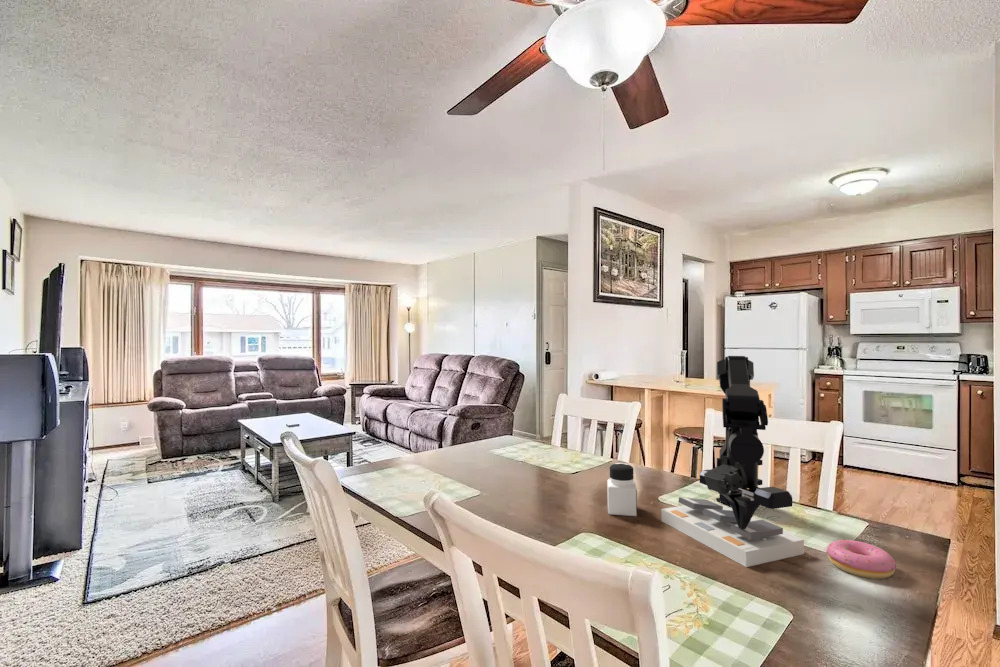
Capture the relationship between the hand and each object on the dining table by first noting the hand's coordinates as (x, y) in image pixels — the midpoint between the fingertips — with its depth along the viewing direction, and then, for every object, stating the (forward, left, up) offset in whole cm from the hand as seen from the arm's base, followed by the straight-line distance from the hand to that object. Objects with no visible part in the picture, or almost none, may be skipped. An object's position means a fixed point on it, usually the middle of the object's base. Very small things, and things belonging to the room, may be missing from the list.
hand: (742, 528), depth 98 cm
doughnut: (-17, +12, -6) cm, 22 cm away
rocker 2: (-4, 0, -1) cm, 4 cm away
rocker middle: (-4, -8, -1) cm, 9 cm away
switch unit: (-4, -8, -5) cm, 10 cm away
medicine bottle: (+9, -30, -6) cm, 32 cm away
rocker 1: (-4, -16, -1) cm, 17 cm away
